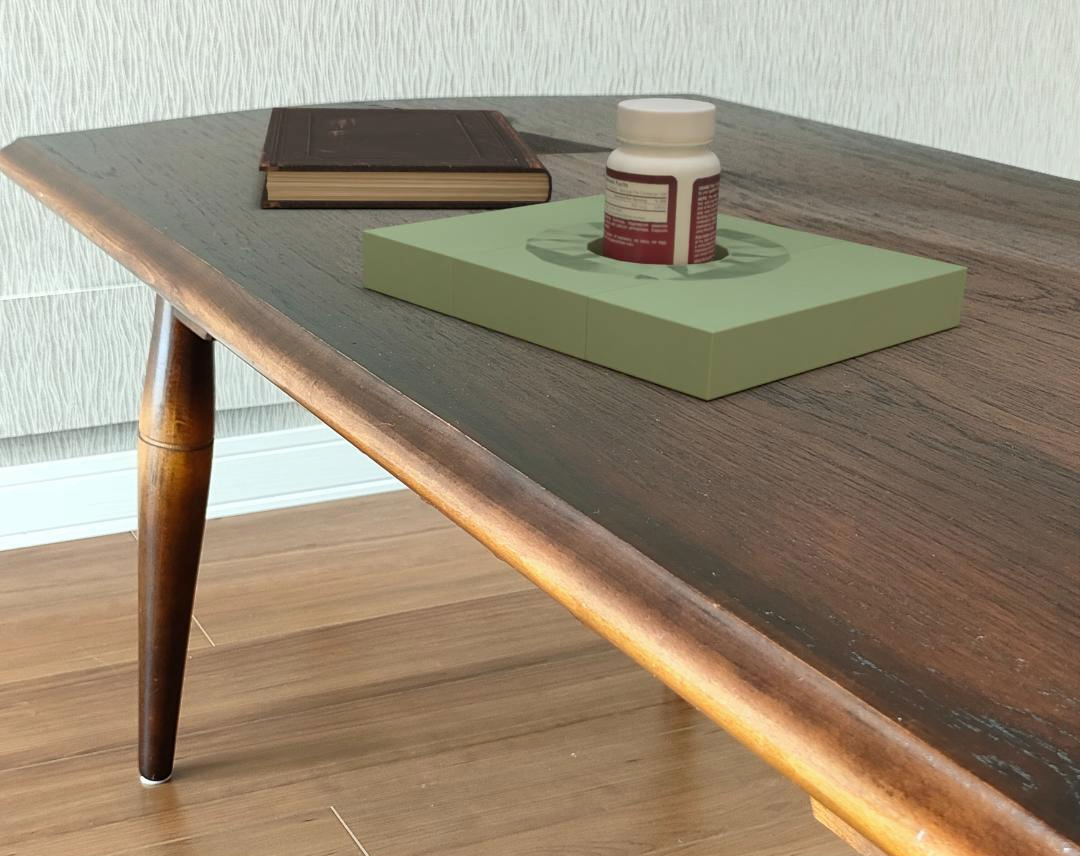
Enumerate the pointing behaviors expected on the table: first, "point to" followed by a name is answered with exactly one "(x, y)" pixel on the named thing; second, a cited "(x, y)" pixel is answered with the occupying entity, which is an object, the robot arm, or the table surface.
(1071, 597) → the table surface
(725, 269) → the socket pad
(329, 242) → the table surface
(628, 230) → the pill bottle
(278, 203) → the hardcover book
